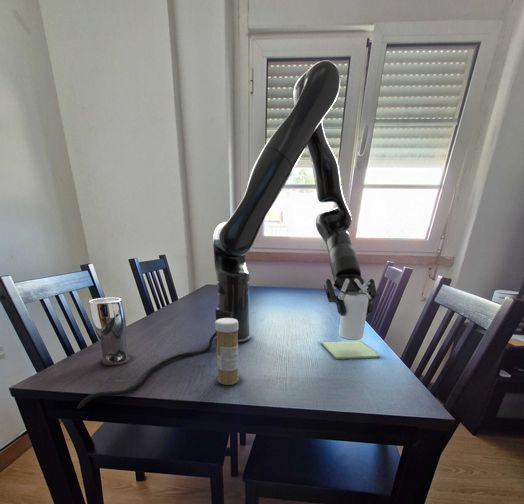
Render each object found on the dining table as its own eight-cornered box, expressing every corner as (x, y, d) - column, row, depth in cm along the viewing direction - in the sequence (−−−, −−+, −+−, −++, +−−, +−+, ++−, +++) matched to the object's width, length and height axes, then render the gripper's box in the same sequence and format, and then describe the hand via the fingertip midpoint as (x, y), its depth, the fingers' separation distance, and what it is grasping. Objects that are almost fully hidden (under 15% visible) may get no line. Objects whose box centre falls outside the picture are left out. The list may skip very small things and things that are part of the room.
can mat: (336, 359, 73) (336, 357, 73) (321, 343, 84) (321, 341, 84) (379, 357, 74) (380, 355, 74) (359, 342, 85) (359, 340, 85)
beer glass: (96, 360, 69) (83, 299, 64) (125, 353, 74) (115, 296, 69) (107, 368, 65) (94, 304, 60) (136, 360, 70) (127, 300, 64)
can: (337, 339, 76) (343, 294, 71) (338, 332, 82) (344, 290, 77) (363, 341, 74) (370, 296, 70) (362, 334, 80) (368, 292, 76)
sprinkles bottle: (219, 376, 62) (217, 317, 58) (240, 376, 62) (239, 317, 58) (216, 385, 58) (213, 323, 53) (238, 386, 58) (237, 323, 53)
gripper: (323, 254, 76) (335, 306, 70) (373, 254, 78) (389, 305, 71) (316, 272, 83) (325, 321, 76) (362, 272, 85) (375, 320, 78)
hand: (356, 313), depth 74 cm, fingers closed on can, 6 cm apart
